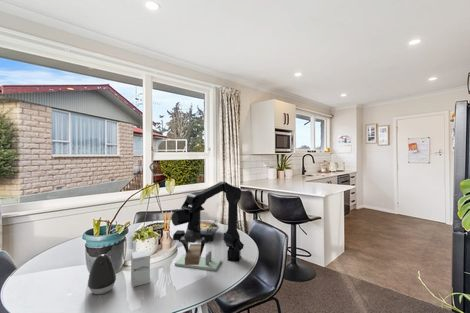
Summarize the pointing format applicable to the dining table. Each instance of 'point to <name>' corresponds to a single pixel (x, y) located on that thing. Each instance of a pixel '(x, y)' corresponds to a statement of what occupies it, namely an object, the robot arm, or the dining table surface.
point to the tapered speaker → (102, 275)
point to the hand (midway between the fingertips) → (194, 253)
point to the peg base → (201, 262)
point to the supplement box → (140, 267)
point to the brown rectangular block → (193, 255)
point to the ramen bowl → (208, 226)
